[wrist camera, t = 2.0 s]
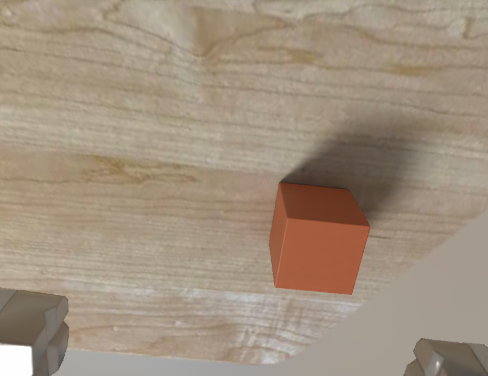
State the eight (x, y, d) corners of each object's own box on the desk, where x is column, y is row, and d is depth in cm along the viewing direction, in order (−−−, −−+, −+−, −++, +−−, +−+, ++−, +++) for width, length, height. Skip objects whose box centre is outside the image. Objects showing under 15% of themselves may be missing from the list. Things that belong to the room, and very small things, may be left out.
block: (348, 189, 26) (370, 226, 22) (334, 249, 28) (352, 295, 24) (278, 181, 26) (287, 217, 22) (268, 243, 28) (274, 287, 23)
